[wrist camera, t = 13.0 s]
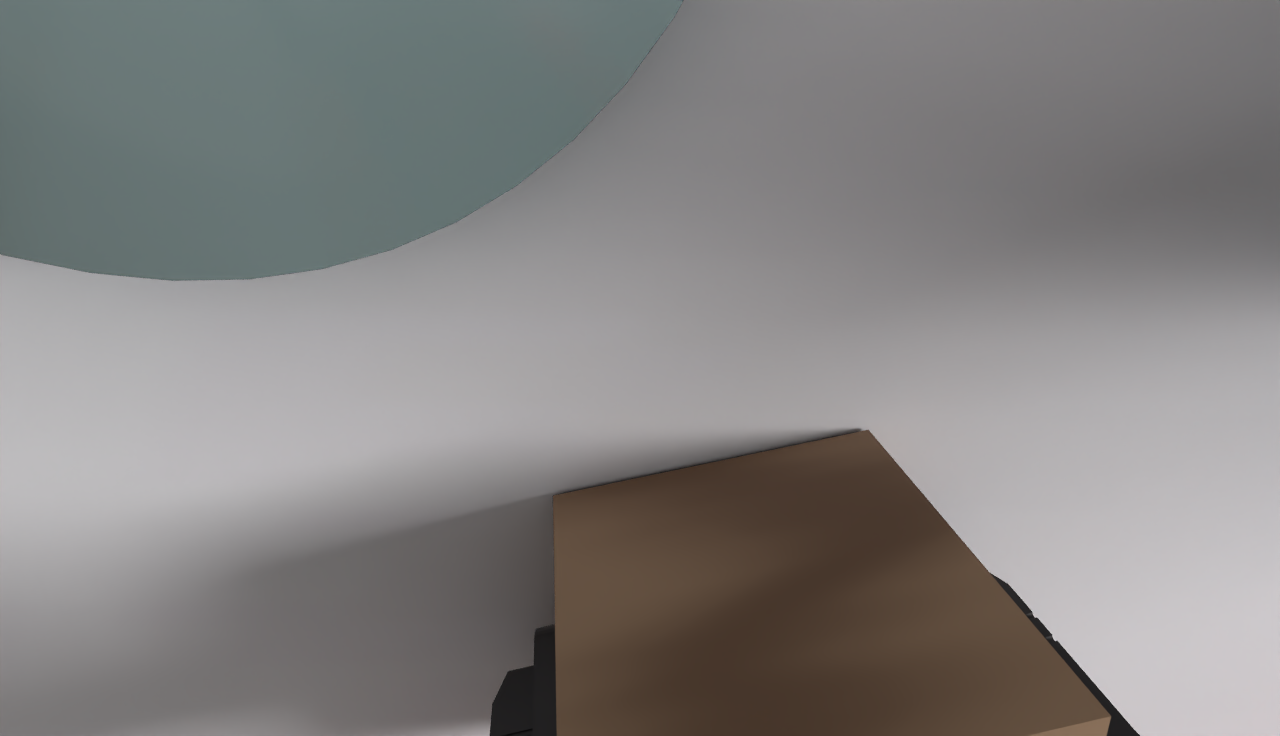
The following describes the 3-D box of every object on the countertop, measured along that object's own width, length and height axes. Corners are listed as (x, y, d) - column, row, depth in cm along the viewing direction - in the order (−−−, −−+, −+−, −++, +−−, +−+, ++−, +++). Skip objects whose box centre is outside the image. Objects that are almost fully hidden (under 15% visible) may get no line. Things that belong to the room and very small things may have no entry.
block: (868, 429, 10) (1111, 715, 6) (869, 651, 13) (1047, 982, 8) (553, 495, 10) (558, 844, 6) (610, 709, 12) (647, 1082, 8)
